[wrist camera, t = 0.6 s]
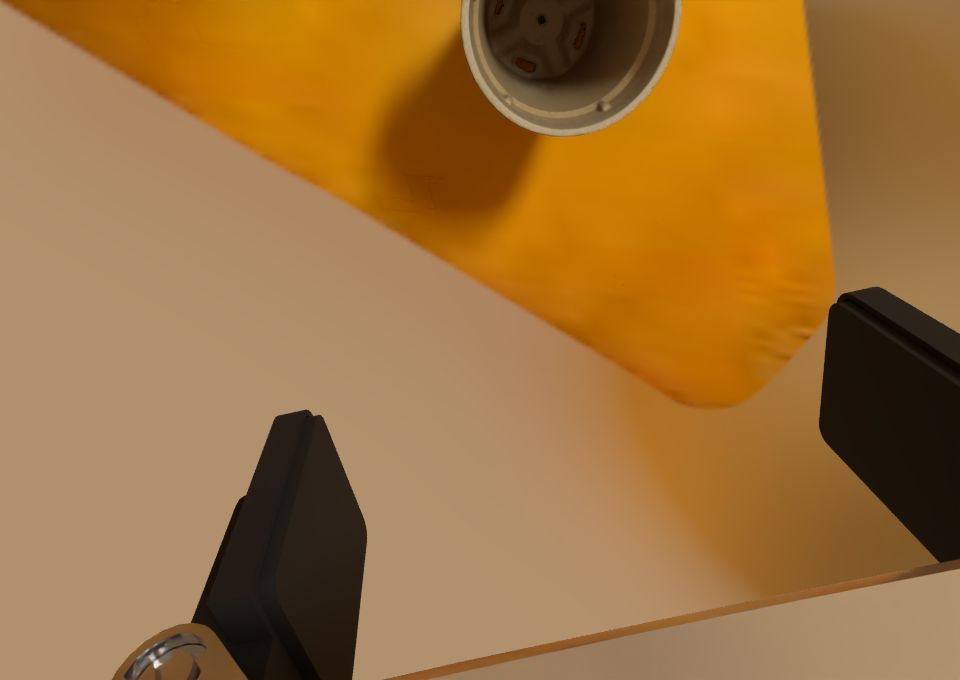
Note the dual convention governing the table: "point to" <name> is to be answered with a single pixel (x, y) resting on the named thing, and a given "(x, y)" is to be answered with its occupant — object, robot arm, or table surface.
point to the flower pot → (568, 58)
